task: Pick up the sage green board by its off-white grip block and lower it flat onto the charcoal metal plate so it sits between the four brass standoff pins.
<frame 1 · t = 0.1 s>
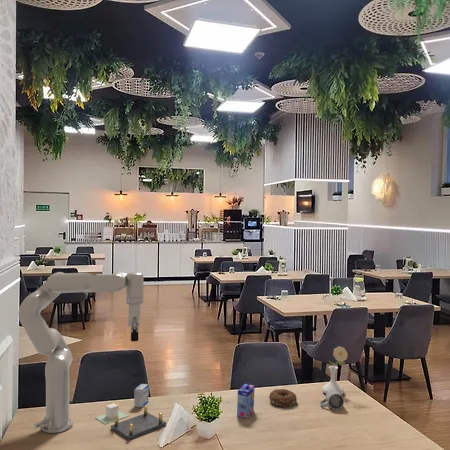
hand: (134, 338, 197), 37 cm above the table, tool pointing down, fingers open, 9 cm apart
flower in vase: (334, 393, 231), on the table
medicine box: (141, 404, 215), on the table
sage board: (112, 418, 200), on the table
chassis plate: (138, 427, 190), on the table
ink cartridge box: (245, 414, 205), on the table
donut: (282, 403, 219), on the table
ceramic mug: (331, 407, 214), on the table
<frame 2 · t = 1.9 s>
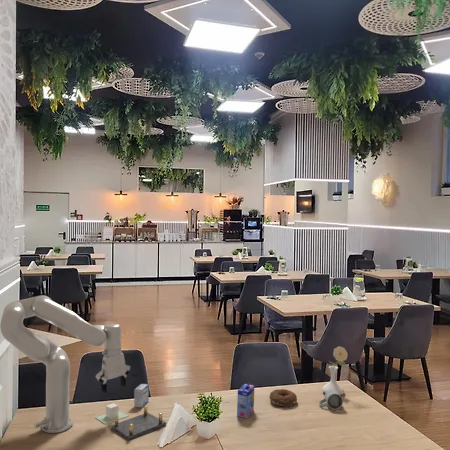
hand: (113, 388, 201), 13 cm above the table, tool pointing down, fingers open, 9 cm apart
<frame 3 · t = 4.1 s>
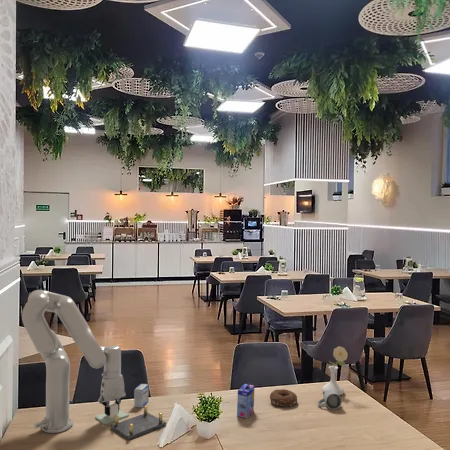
hand: (112, 413, 200), 2 cm above the table, tool pointing down, fingers closed on sage board, 4 cm apart
sage board: (112, 417, 200), on the table, touching gripper
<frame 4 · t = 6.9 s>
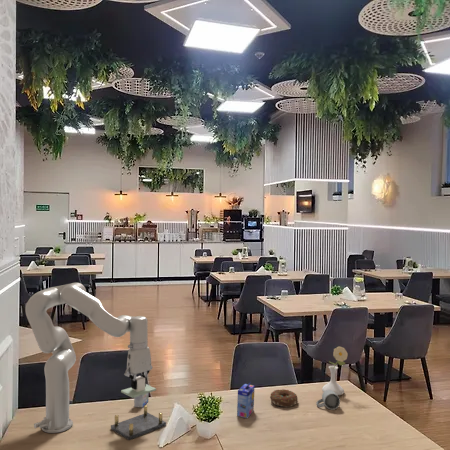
hand: (138, 386, 191), 17 cm above the table, tool pointing down, fingers closed on sage board, 4 cm apart
sage board: (138, 391, 191), point 16 cm above the table, touching gripper
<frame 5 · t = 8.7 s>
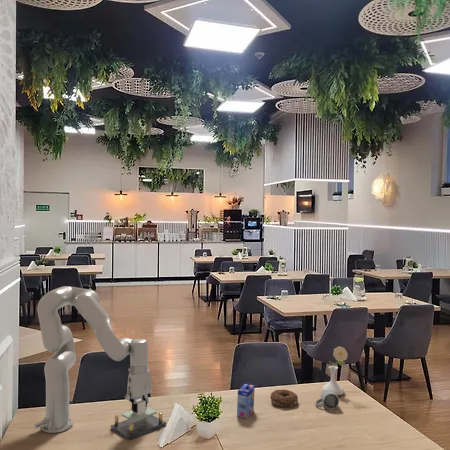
hand: (139, 409, 190), 8 cm above the table, tool pointing down, fingers closed on sage board, 4 cm apart
sage board: (139, 414, 191), point 6 cm above the table, touching gripper
when the fingers open (5 cm above the table, at t = 10.0 s): sage board drops 1 cm, resting on chassis plate.
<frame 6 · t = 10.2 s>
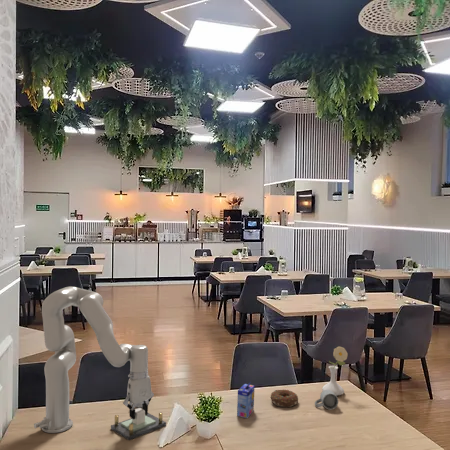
hand: (138, 415, 190), 5 cm above the table, tool pointing down, fingers open, 5 cm apart
sage board: (138, 423, 190), point 1 cm above the table, touching chassis plate
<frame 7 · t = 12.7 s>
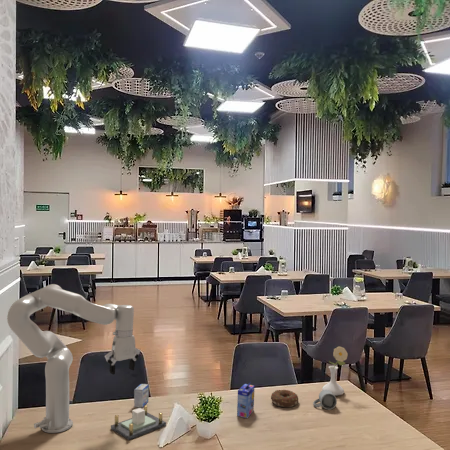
hand: (122, 371, 195), 23 cm above the table, tool pointing down, fingers open, 9 cm apart
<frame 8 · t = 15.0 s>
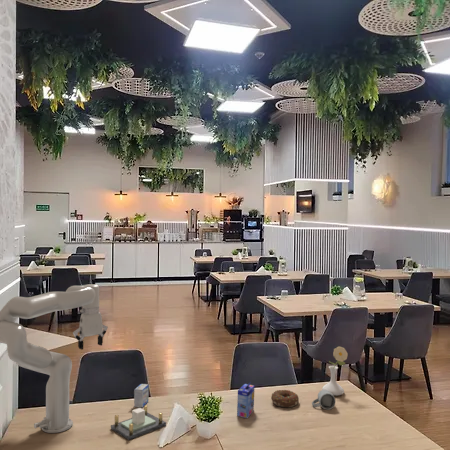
hand: (90, 346, 207), 30 cm above the table, tool pointing down, fingers open, 9 cm apart
at the end: sage board 0.1 cm off-centre on the chassis plate, point 1.5 cm above the chassis plate's base; sage board tilted 0°; the gripper is holding nothing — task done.
